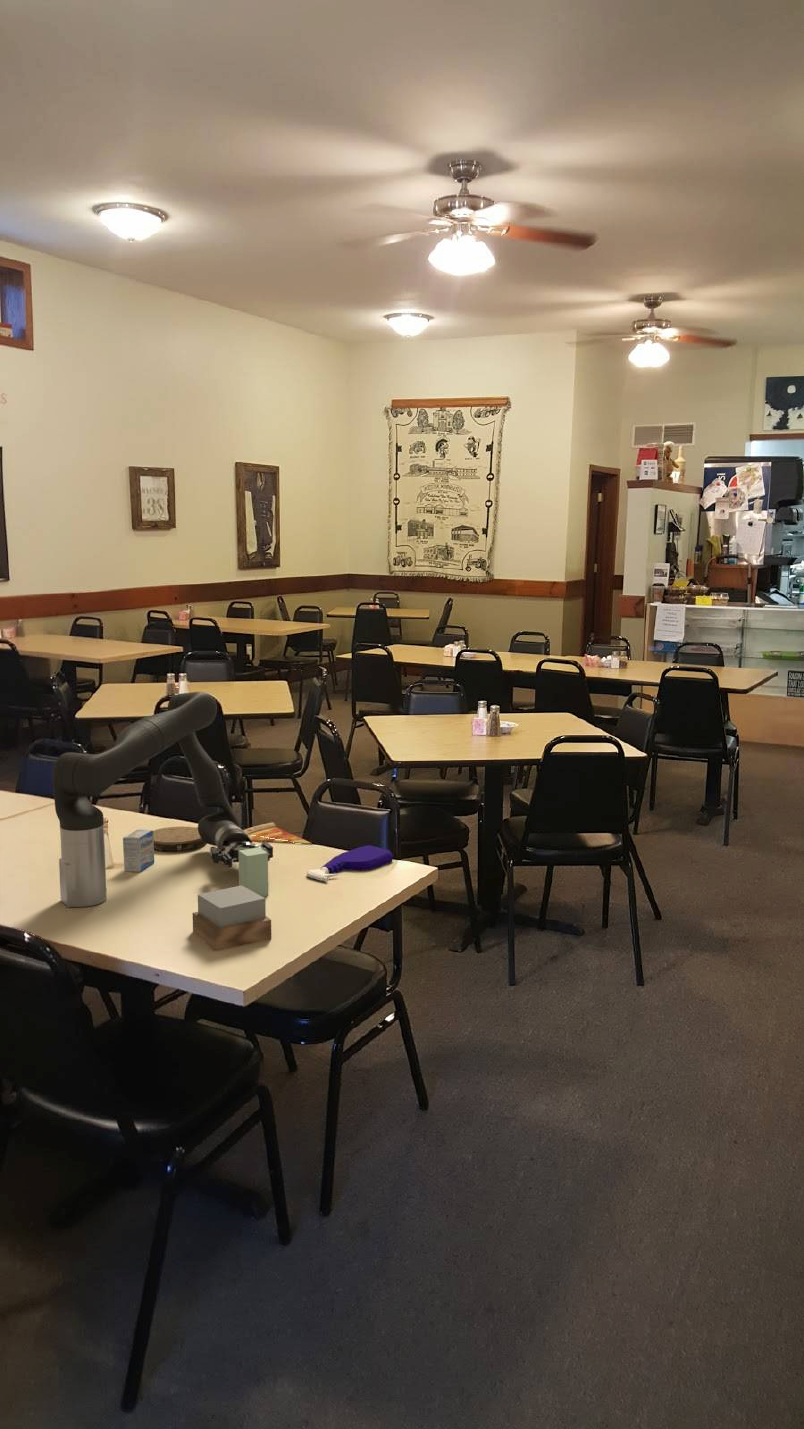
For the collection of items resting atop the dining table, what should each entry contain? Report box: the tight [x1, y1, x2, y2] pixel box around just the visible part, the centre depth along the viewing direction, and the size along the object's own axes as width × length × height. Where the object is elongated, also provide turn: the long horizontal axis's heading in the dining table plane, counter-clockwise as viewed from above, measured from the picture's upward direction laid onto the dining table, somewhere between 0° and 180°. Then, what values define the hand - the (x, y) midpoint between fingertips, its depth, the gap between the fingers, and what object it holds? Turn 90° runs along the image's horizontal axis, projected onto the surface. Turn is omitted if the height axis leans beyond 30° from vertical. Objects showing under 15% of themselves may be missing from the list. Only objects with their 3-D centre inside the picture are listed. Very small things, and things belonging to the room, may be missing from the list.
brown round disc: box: [153, 826, 207, 854], centre depth 269 cm, size 16×16×3 cm
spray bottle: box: [306, 844, 394, 883], centre depth 249 cm, size 3×11×24 cm
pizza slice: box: [242, 822, 313, 846], centre depth 274 cm, size 16×22×2 cm
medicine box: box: [122, 828, 155, 873], centre depth 248 cm, size 8×4×9 cm, turn 168°
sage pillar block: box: [238, 847, 269, 897], centre depth 229 cm, size 5×5×10 cm
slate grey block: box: [197, 885, 267, 928], centre depth 204 cm, size 10×10×4 cm
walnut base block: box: [191, 911, 272, 952], centre depth 204 cm, size 12×12×4 cm
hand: (248, 860), depth 233 cm, fingers open, 8 cm apart
